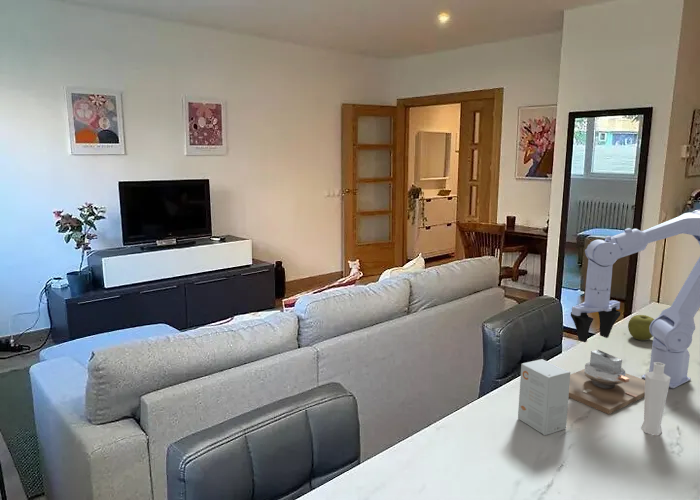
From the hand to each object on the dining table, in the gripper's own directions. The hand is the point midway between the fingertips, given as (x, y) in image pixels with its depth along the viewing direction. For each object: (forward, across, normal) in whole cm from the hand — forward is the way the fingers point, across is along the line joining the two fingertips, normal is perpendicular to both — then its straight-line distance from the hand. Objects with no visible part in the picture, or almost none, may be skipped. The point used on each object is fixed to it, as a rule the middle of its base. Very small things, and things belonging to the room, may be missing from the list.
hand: (593, 338), depth 137 cm
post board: (+10, -3, -7) cm, 13 cm away
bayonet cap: (+7, -3, -8) cm, 11 cm away
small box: (+11, -29, -14) cm, 34 cm away
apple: (+11, +37, +14) cm, 41 cm away
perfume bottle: (+11, -10, -25) cm, 29 cm away
